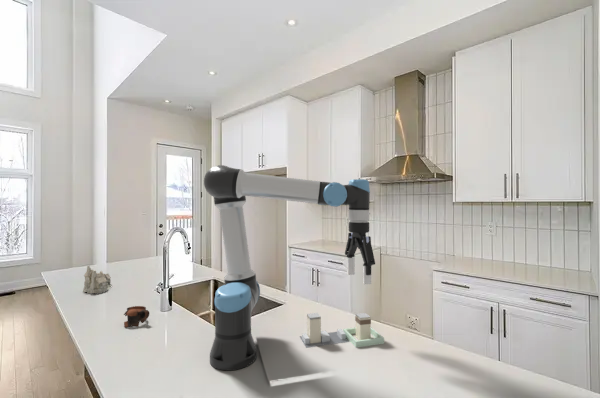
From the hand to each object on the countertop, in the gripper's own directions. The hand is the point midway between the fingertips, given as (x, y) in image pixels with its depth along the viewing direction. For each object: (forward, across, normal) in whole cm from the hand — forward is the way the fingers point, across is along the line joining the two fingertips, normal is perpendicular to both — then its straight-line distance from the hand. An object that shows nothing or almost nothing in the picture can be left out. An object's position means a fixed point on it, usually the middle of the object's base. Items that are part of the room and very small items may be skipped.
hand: (358, 279), depth 114 cm
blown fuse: (+22, -1, -2) cm, 22 cm away
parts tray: (+23, -1, -2) cm, 23 cm away
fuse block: (+23, +2, +12) cm, 26 cm away
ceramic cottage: (+25, +100, +117) cm, 156 cm away
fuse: (+22, +2, +16) cm, 27 cm away
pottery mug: (+24, +40, +83) cm, 96 cm away
